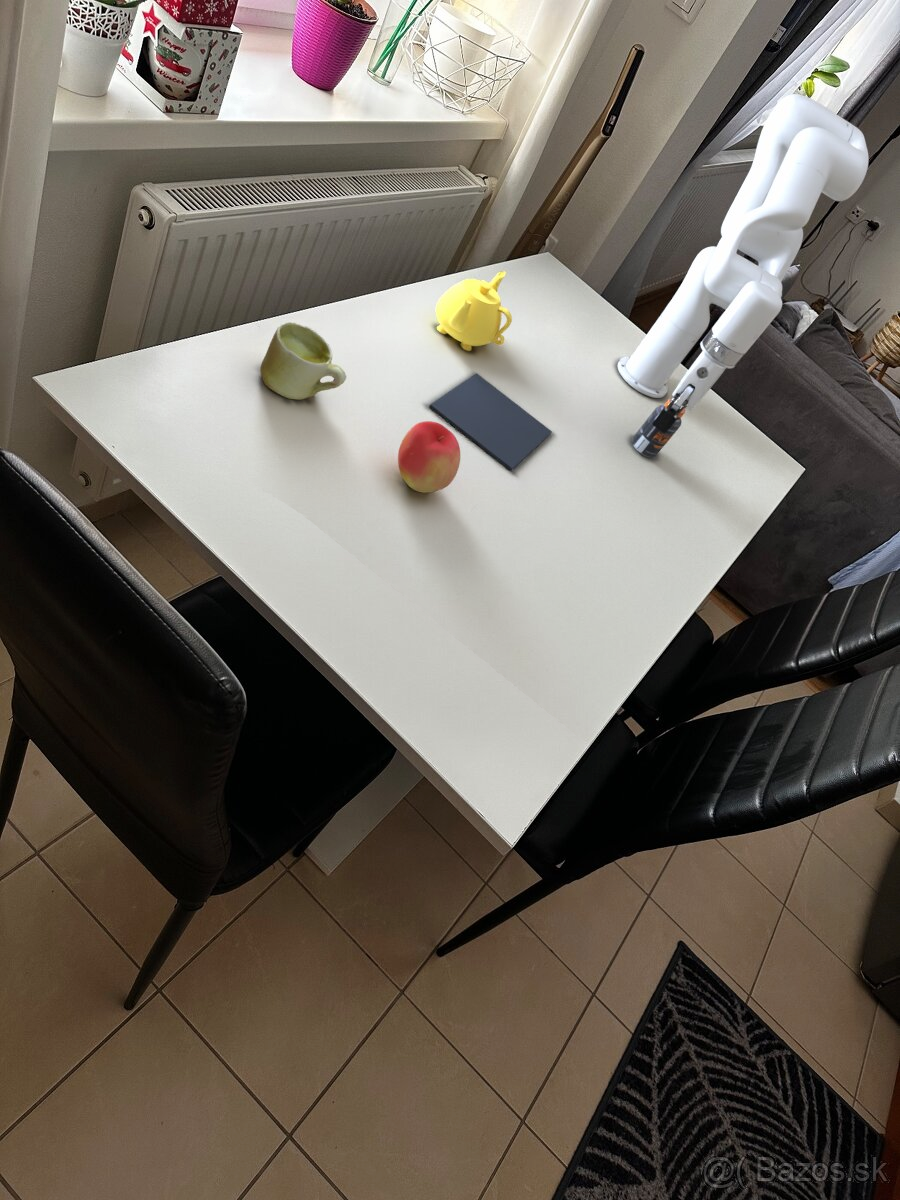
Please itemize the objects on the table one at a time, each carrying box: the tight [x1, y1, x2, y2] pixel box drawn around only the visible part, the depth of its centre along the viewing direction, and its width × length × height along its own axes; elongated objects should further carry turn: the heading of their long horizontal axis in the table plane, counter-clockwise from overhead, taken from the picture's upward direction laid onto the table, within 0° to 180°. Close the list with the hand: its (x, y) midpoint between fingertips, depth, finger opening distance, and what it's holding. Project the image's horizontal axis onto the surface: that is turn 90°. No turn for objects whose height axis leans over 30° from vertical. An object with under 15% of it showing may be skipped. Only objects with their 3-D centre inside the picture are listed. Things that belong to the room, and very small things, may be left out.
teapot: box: [435, 270, 513, 352], centre depth 164 cm, size 20×15×12 cm
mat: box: [428, 372, 553, 472], centre depth 153 cm, size 18×18×1 cm
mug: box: [260, 321, 347, 400], centre depth 131 cm, size 12×10×10 cm
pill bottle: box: [631, 398, 687, 458], centre depth 168 cm, size 6×6×11 cm
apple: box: [397, 420, 461, 493], centre depth 129 cm, size 10×10×10 cm
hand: (663, 422), depth 167 cm, fingers closed on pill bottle, 5 cm apart
